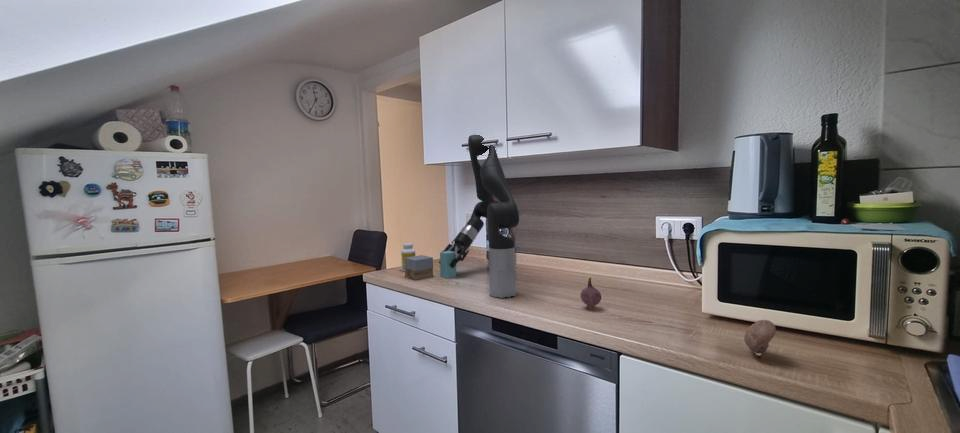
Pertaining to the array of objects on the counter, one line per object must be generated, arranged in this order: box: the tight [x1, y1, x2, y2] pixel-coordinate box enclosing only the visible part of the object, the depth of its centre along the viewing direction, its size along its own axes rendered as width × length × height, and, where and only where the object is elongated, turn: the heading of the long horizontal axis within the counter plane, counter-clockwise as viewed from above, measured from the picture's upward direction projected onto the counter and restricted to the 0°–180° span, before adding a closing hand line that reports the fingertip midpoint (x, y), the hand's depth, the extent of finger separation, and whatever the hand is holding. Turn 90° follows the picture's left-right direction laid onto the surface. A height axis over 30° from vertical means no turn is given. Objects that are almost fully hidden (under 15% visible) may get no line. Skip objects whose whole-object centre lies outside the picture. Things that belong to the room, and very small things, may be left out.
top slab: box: [404, 254, 434, 271], centre depth 160 cm, size 9×9×4 cm
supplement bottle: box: [400, 242, 416, 273], centre depth 174 cm, size 7×7×13 cm
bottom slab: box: [404, 267, 434, 282], centre depth 160 cm, size 9×9×4 cm
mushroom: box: [743, 319, 777, 354], centre depth 80 cm, size 8×6×8 cm
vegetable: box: [580, 277, 602, 308], centre depth 114 cm, size 6×6×10 cm
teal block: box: [439, 251, 457, 280], centre depth 159 cm, size 5×5×11 cm
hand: (445, 265), depth 159 cm, fingers open, 8 cm apart
